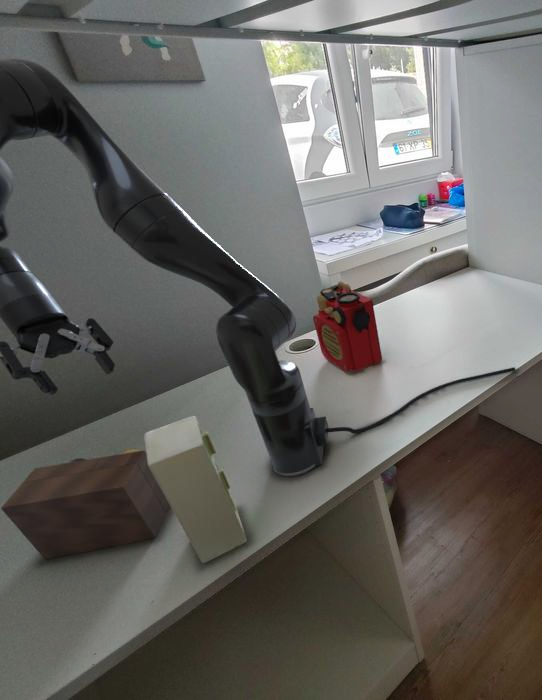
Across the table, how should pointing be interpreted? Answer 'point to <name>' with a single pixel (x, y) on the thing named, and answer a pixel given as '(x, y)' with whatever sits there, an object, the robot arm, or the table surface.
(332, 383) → the table surface
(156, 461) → the toy refrigerator
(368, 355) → the radio
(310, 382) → the table surface
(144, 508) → the control box
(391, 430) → the table surface
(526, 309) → the table surface
